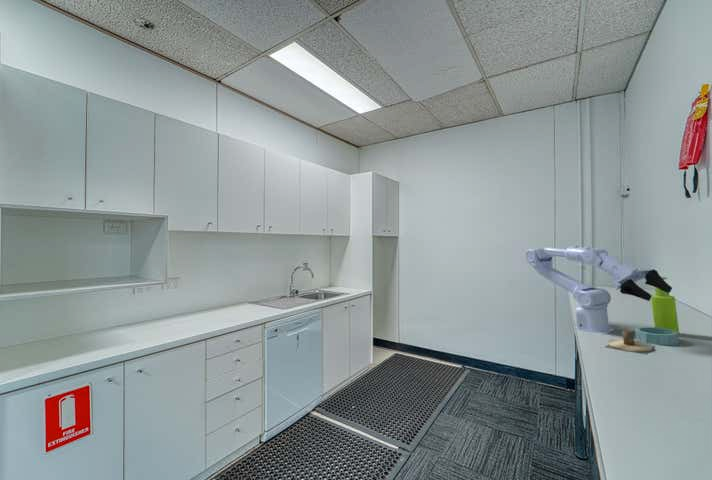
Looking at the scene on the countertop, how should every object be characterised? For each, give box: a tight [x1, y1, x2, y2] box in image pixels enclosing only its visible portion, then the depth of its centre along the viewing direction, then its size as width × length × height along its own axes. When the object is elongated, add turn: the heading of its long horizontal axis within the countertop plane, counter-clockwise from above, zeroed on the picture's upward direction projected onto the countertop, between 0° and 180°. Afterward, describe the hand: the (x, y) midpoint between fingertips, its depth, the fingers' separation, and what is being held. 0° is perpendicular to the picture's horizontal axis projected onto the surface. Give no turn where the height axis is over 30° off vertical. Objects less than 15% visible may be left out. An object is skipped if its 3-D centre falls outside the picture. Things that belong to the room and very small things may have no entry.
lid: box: [607, 329, 653, 353], centre depth 96 cm, size 10×10×5 cm
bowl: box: [634, 326, 680, 346], centre depth 99 cm, size 10×10×4 cm
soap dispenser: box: [650, 276, 680, 337], centre depth 107 cm, size 6×7×20 cm
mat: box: [604, 344, 656, 355], centre depth 96 cm, size 10×10×1 cm
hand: (660, 294), depth 95 cm, fingers open, 7 cm apart
